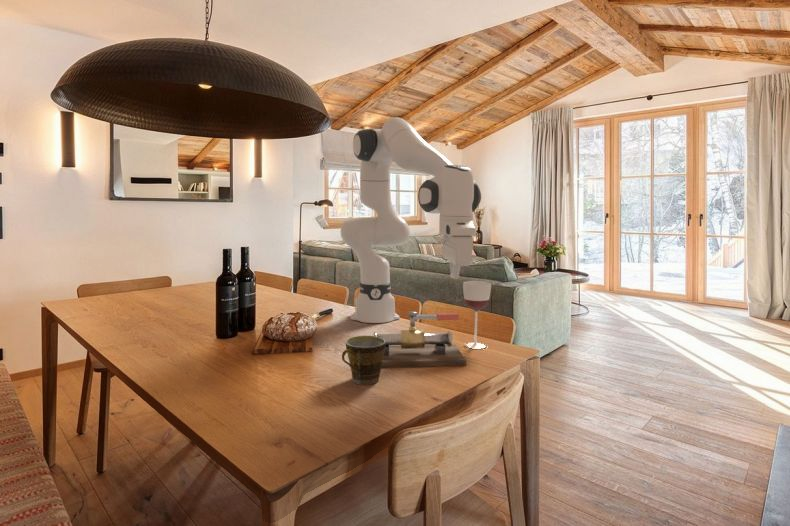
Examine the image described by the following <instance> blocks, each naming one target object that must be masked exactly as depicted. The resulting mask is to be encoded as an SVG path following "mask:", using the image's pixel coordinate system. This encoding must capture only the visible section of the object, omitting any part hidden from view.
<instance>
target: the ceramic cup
mask: <svg viewBox="0 0 790 526" xmlns="http://www.w3.org/2000/svg"><path fill="white" fill-rule="evenodd" d="M344 343H345V348H346V349H345V350H343V351H342V354H341V359H342V360H341V361H343V362H344V363H345V364H347V365H348V366H349V367H350V372H351V378H352V379H351V380H352V383H354V384H357V385H359V386H363V385H364V386H365V385H366V386H367V385H369V386H370V385H373V384H376V383H378V382H379V381H380V376H381V375H380V374H381V370H382V369H381V368H382V367H381V365H382V359H383V356H384V351H385V345H386V341H385V339H383V338H380V337H376V336H374V335H357V336H352V337H350V338H348V339H346V340H345V342H344ZM346 354H347V358H348V361H349V362H348V361H346V359H345V356H346Z"/></svg>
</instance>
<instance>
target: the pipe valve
mask: <svg viewBox="0 0 790 526" xmlns="http://www.w3.org/2000/svg"><path fill="white" fill-rule="evenodd" d="M452 334H453V333H452V331H451V330H447V331H446V332H440V333H439V332H438V333H435V332H433V333H432V332H431V333H425V330H424V329H417V327H416V326H414V327H411V326H409V327H408V329H405V330H404V329H403V330H400V333H381V334H380V333H377V331H376V332H375V331H373V336H376V337H380V338H383V339H385V341H386V345H385V351H384V356H389V346H401V349H419V348H424V347H425V345H435V352H436V354H437V355H445V345H447V346H448V347H450V346H451V345H453V337H452Z"/></svg>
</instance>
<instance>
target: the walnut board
mask: <svg viewBox="0 0 790 526" xmlns="http://www.w3.org/2000/svg"><path fill="white" fill-rule="evenodd" d="M444 345H445V355H437V354H436V352H435V345H425V347H424V348H419V349H401V345H389V356H383V359H382V365H381V368H398V367H399V368H404V367H405V368H406V367H407V368H408V367H409V368H410V367H411V368H412V367H445V366H446V367H447V366H448V367H451V366H452V367H453V366H454V367H455V366H458V367H459V366H466V365H467V359H466V357H464V355H463V354H462V353H461V351H460V349H459V348H458V346H457V345H456V344H452V345H451V346H450V347H448V346H447V344H444Z"/></svg>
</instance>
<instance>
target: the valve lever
mask: <svg viewBox="0 0 790 526" xmlns="http://www.w3.org/2000/svg"><path fill="white" fill-rule="evenodd" d="M407 316H408V317H409V327H416V320H437V321H459V317H460V316H459V313H458V312H456V311H455V312H435V313H433V314H431V313H430V314H429V313H428V314H418V312H417V311H415V310H411V311H407Z"/></svg>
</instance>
